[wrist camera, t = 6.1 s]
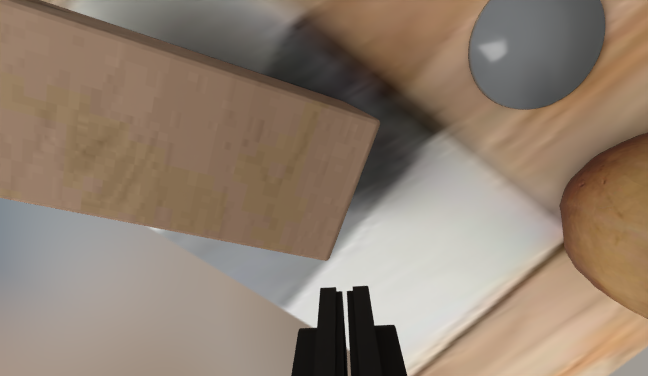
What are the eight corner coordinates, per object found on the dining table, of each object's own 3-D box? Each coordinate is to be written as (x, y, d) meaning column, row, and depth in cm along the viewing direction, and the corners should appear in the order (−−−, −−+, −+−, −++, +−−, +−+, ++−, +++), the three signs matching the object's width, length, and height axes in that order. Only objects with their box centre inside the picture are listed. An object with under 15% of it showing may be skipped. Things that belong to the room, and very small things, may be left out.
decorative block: (329, 263, 21) (-323, 138, 14) (311, 203, 30) (-86, 108, 23) (383, 121, 18) (-411, -139, 11) (345, 101, 27) (-99, -47, 20)
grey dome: (473, -22, 24) (476, -25, 24) (611, -34, 24) (617, -37, 23) (464, 112, 27) (466, 113, 27) (586, 105, 27) (591, 105, 26)
